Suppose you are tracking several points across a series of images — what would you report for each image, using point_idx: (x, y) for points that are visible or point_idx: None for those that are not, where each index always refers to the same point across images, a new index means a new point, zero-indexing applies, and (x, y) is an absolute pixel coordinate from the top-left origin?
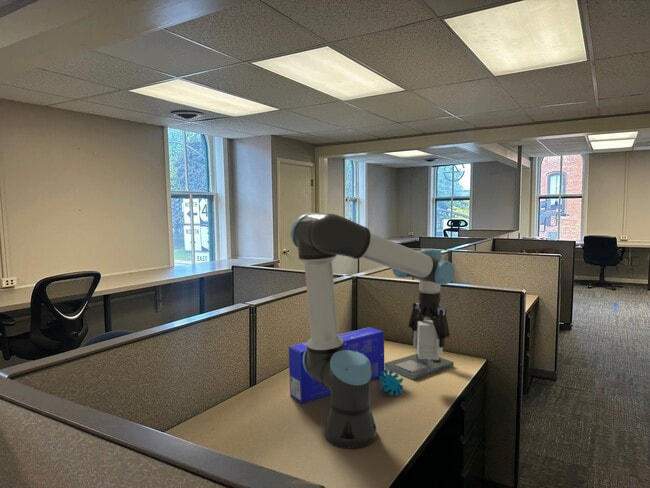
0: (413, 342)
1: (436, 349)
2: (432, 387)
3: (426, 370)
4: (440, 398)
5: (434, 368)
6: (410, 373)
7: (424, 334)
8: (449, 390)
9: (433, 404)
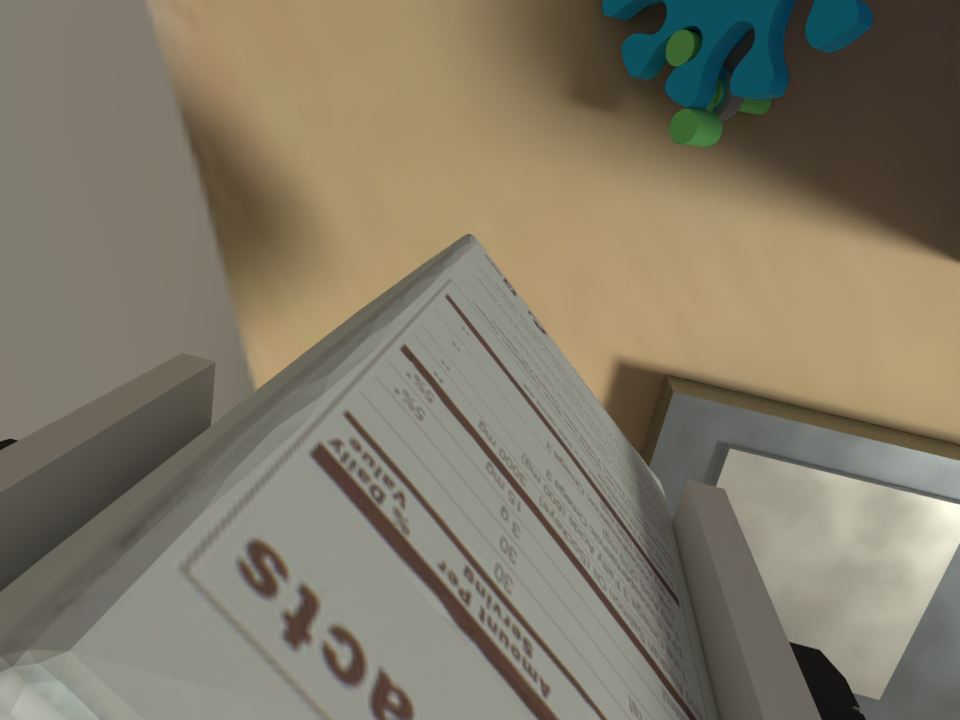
0: (749, 549)
1: (130, 400)
2: None
3: None
4: (297, 191)
5: None
6: (725, 416)
7: (171, 459)
8: None
9: (274, 33)
